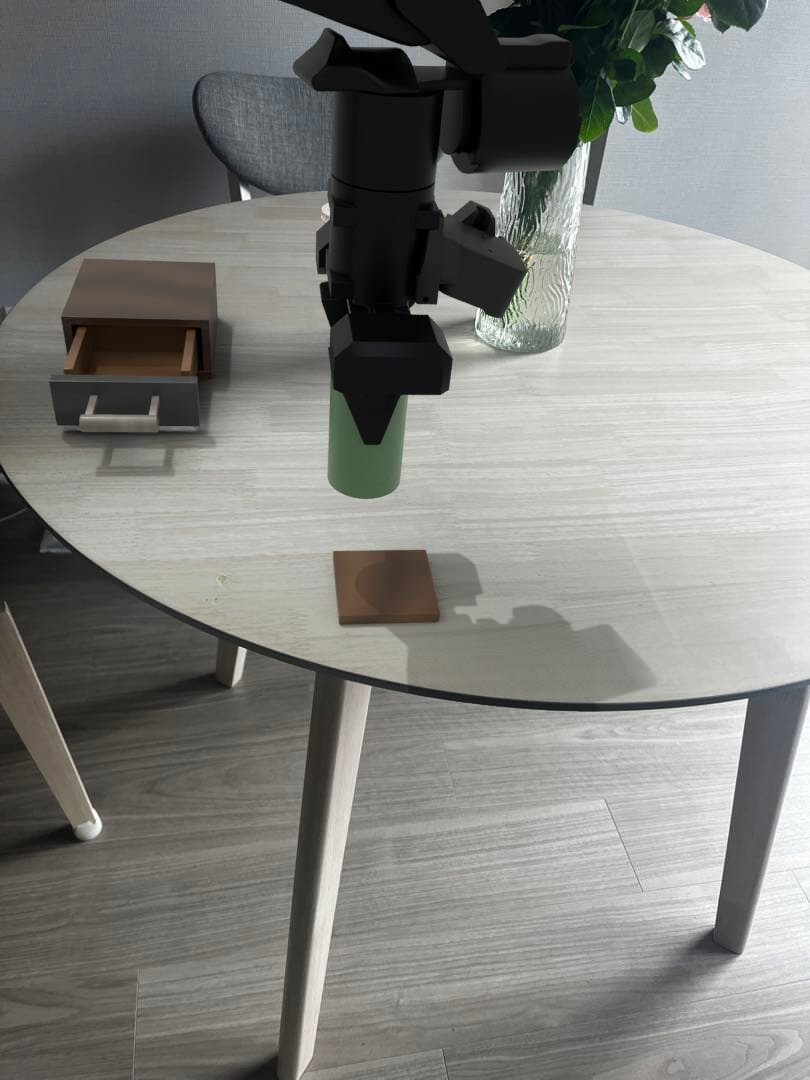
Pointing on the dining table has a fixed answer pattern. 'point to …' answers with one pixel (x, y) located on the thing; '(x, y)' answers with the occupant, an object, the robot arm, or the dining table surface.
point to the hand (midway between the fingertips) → (368, 421)
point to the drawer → (128, 379)
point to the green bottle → (363, 452)
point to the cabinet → (146, 299)
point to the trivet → (384, 587)
